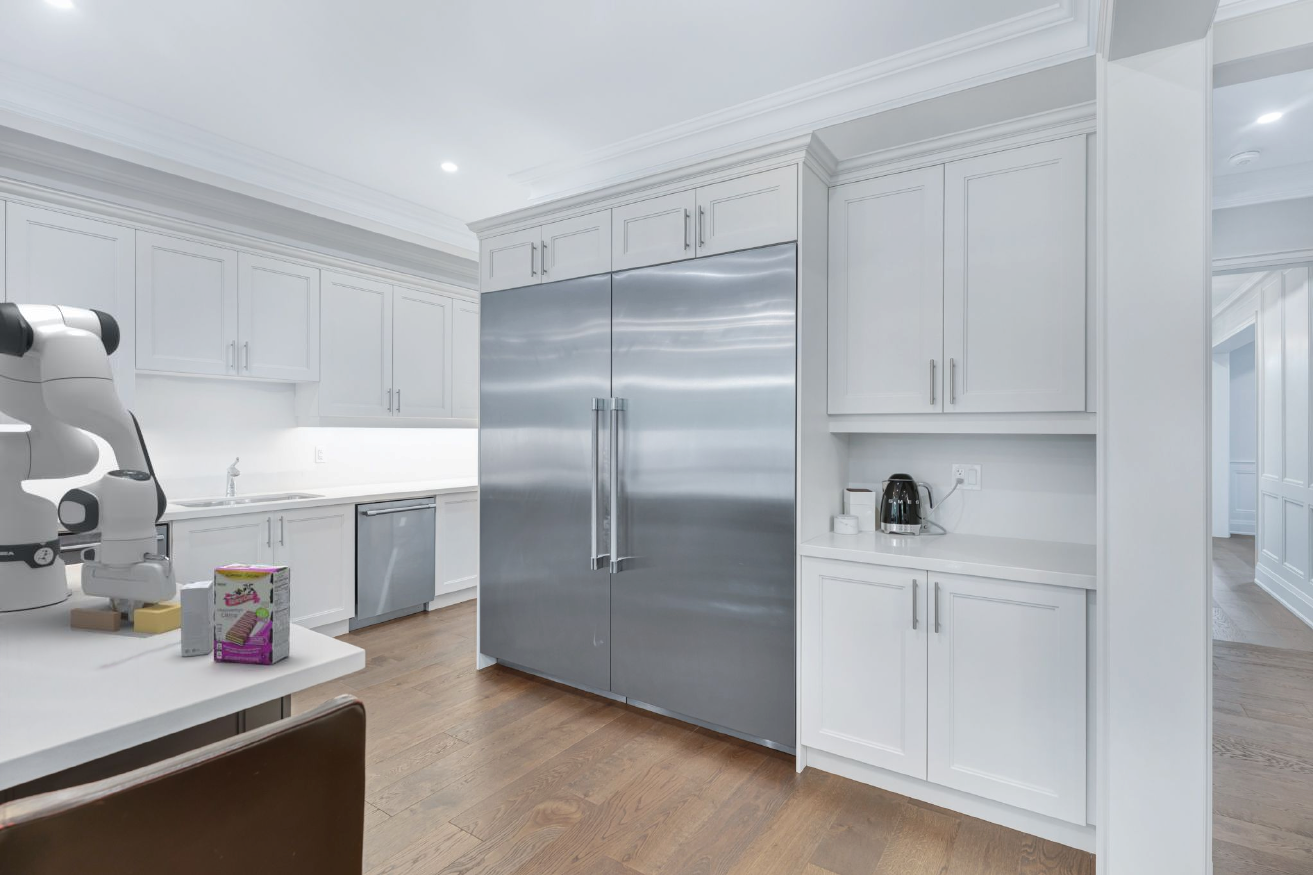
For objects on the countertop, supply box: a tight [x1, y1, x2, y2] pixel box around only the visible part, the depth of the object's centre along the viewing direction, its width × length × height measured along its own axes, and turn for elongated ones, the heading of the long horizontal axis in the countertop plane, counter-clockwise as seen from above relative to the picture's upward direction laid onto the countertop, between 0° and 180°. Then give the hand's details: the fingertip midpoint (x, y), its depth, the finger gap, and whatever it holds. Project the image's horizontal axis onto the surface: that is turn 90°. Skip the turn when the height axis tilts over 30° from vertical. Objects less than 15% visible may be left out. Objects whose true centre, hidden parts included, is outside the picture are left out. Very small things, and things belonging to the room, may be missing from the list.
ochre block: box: [134, 602, 181, 635], centre depth 128 cm, size 6×6×4 cm
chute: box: [65, 599, 171, 639], centre depth 130 cm, size 20×11×4 cm, turn 76°
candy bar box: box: [213, 562, 291, 665], centre depth 114 cm, size 11×5×16 cm, turn 84°
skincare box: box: [179, 580, 214, 657], centre depth 118 cm, size 6×4×12 cm
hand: (129, 620), depth 130 cm, fingers closed
